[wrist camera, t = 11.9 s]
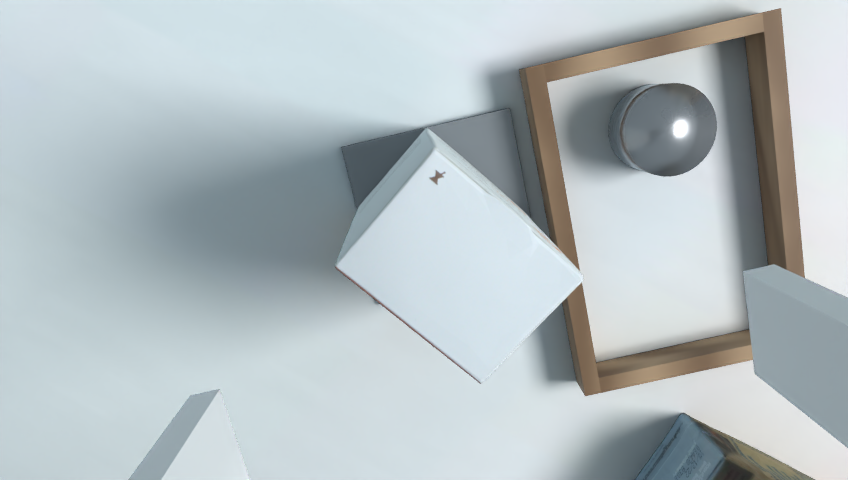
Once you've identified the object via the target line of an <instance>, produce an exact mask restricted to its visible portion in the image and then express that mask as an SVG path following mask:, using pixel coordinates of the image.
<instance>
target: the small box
mask: <svg viewBox="0 0 848 480" xmlns="http://www.w3.org/2000/svg"><path fill="white" fill-rule="evenodd" d="M335 268H336V269H337V270H338V271H340V272H341V273H342V274H343V275H345V276H346V277H347V278H348V279H349V280H351V281H352V282H353V283H354V284H356V285H357V286H358V287H360V288H361V289H362V290H363V291H365V292H366V293H367V294H368V295H370V296H371V297H372V298H373V299H375V300H376V301H377V302H378V303H380V304H381V305H382V306H383V307H385V308H386V309H387V310H388V311H390V312H391V313H392V314H393V315H395V316H396V317H397V318H398V319H400V320H401V321H402V322H403V323H405V324H406V325H407V326H408V327H410V328H411V329H412V330H413V331H415V332H416V333H417V334H419V335H420V336H421V337H422V338H423V339H425V340H426V341H427V342H428V343H430V344H431V345H432V346H433V347H435V348H436V349H437V350H439V351H440V352H441V353H442V354H444V355H445V356H446V357H447V358H449V359H450V360H451V361H453V362H454V363H455V364H456V365H458V366H459V367H460V368H461V369H463V370H464V371H465V372H466V373H468V374H469V375H470V376H471V377H473V378H474V379H475V380H477V381H478V382H479V383H480V384H481V383H483V382H484V381H485V380H486V379H487V378H488V377H489V376H490V375H491V374H492V373H493V372H494V371H495V370H496V369H497V368H498V367H499V366H500V365H501V364H502V363H503V362H504V361H505V360H506V359H507V358H508V357H509V355H510V354H511V353H512V352H513V351H514V350H515V349H516V348H517V347H518V346H519V345H520V344H521V343H522V342H523V341H524V340H525V339H526V338H527V337H528V336H529V335H530V334H531V333H532V332H533V331H534V330H535V329H536V328H537V327H538V326H539V325H540V324H541V323H542V322H543V321H544V320H545V319H546V318H547V317H548V316H549V315H550V314H551V313H552V312H553V311H554V310H555V309H556V308H557V307H558V306H559V305H560V304H561V303H562V302H563V301H564V300H565V299H566V298H567V297H568V296H569V295H570V294H571V293H572V292H573V291H574V290H575V289H576V288H577V287H578V286H579V285H580V284H581V283H582V282H583V280H584V277H583V275H582V273H581V272H580V271H579V270H578V269H577V268H576V267H575V265H574V264H573V263H572V262H571V261H570V260H569V259H568V258H567V257H566V256H565V255H564V254H563V253H562V252H561V251H560V250H559V248H558V247H557V246H556V245H555V244H554V243H553V242H552V241H551V240H550V239H549V238H548V237H547V235H546V234H545V233H544V232H542V231H541V230H540V228H539V227H538V226H537V225H536V224H535V223H534V222H533V221H532V220H531V219H530V218H529V216H528V215H527V214H526V213H525V212H524V211H523V210H522V209H521V208H520V207H519V206H517V205H516V204H515V203H514V202H513V201H512V200H511V199H510V198H509V197H507V196H506V195H505V194H504V193H503V192H502V191H501V190H500V189H498V188H497V187H496V186H495V185H494V184H493V183H492V182H490V181H489V180H488V179H487V178H486V177H485V176H484V175H482V174H481V173H480V172H479V171H478V170H477V169H476V168H474V167H473V166H472V165H471V164H470V163H469V162H468V161H466V160H465V159H464V158H463V157H462V156H461V155H459V154H458V153H457V152H456V151H455V150H454V149H452V148H451V147H450V146H449V145H448V144H447V143H445V142H444V141H443V140H442V139H441V138H439V137H438V136H437V135H436V134H435V133H433V132H432V131H431V130H430V129H428V128H426V129H425V130H424V131H423V132H422V133H421V134H420V135H419V137H418V138H417V139H416V140H415V141H414V143H413V144H412V145H411V146H410V147H409V148H408V150H407V151H406V152H405V153H404V154H403V155H402V157H401V158H400V159H399V160H398V161H397V162H396V164H395V165H394V166H393V167H392V168H391V169H390V171H389V172H388V173H387V174H386V175H385V176H384V178H383V179H382V180H381V181H380V182H379V183H378V185H377V186H376V187H375V188H374V189H373V190H372V192H371V193H370V194H369V195H368V196H367V197H366V198H365V200H364V201H363V202H362V203H361V204H360V206H359V207H358V210H357V212H356V214H355V216H354V219H353V221H352V224H351V226H350V229H349V232H348V234H347V236H346V238H345V241H344V244H343V246H342V249H341V251H340V254H339V256H338V259H337V262H336V265H335Z"/></svg>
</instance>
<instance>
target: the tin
mask: <svg viewBox="0 0 848 480" xmlns="http://www.w3.org/2000/svg"><path fill="white" fill-rule="evenodd" d="M716 130H717V121H716V115H715V112H714V109H713V107H712V104H711V103H710V101H709V100H708V99H707V97H706V96H705V95H704V94H703V93H701V92H700V91H699V90H697V89H696V88H694V87H691V86H689V85H685V84H679V83H671V84H652V85H645V86H641V87H639V88H636V89H634V90H632V91H631V92H629V93H628V94H627V95H625V96H624V97H623V98H622V99H621V100H620V101H619V103H618V104H617V105H616V107H615V109H614V111H613V113H612V115H611V118H610V122H609V139H610V143H611V146H612V149H613V151H614V152H615V154H616V155H617V157H618V158H619V159H620V160H621V161H622V162H624V163H625V164H627V165H628V166H630V167H632V168H635V169H638V170H641V171H645V172H648V173H651V174H654V175H658V176H676V175H680V174H683V173H685V172H688V171H689V170H691V169H693V168H694V167H696V166H697V165H698V164H699V163H700V162H702V161H703V159H704V158H705V157H706V156H707V154H708V153H709V151H710V149H711V147H712V145H713V143H714V140H715V136H716Z"/></svg>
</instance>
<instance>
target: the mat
mask: <svg viewBox="0 0 848 480" xmlns="http://www.w3.org/2000/svg"><path fill="white" fill-rule="evenodd" d="M426 128H428V129H430V130H431V131H432V132H433V133H435V134H436V135H437V136H438V137H439V138H441V139H442V140H443V141H444V142H445V143H447V144H448V145H449V146H450V147H451V148H452V149H454V150H455V151H456V152H457V153H458V154H459V155H461V156H462V157H463V158H464V159H465V160H466V161H468V162H469V163H470V164H471V165H472V166H473V167H474V168H476V169H477V170H478V171H479V172H480V173H481V174H482V175H484V176H485V177H486V178H487V179H488V180H489V181H490V182H492V183H493V184H494V185H495V186H496V187H497V188H498V189H500V190H501V191H502V192H503V193H504V194H505V195H506V196H507V197H509V198H510V199H511V200H512V201H513V202H514V203H515V204H516V205H517V206H519V207H520V208H521V209H522V210H523V211H524V212H525V213H526V214H527V215H528V216H529V218H530V219H531V217H530V212H529V207H528V202H527V196H526V191H525V186H524V181H523V175H522V170H521V165H520V160H519V155H518V149H517V144H516V139H515V134H514V128H513V123H512V118H511V113H510V108H508V109H503V110H499V111H495V112H490V113H486V114H482V115H477V116H473V117H469V118H465V119H460V120H456V121H452V122H447V123H443V124H439V125H434V126H430V127H426ZM426 128H421V129H417V130H413V131H409V132H404V133H400V134H396V135H391V136H387V137H383V138H378V139H374V140H370V141H366V142H361V143H357V144H353V145H348V146H344V147H341V148H342V152H343V156H344V160H345V164H346V168H347V172H348V176H349V180H350V183H351V187H352V191H353V195H354V199H355V203H356V207H357V210H358V207H359V206H360V204H361V203H362V202H363V201H364V200H365V198H366V197H367V196H368V195H369V194H370V193H371V192H372V190H373V189H374V188H375V187H376V186H377V185H378V183H379V182H380V181H381V180H382V179H383V178H384V176H385V175H386V174H387V173H388V172H389V171H390V169H391V168H392V167H393V166H394V165H395V164H396V162H397V161H398V160H399V159H400V158H401V157H402V155H403V154H404V153H405V152H406V151H407V150H408V148H409V147H410V146H411V145H412V144H413V143H414V141H415V140H416V139H417V138H418V137H419V135H420V134H421V133H422V132H423V131H424V130H425V129H426Z"/></svg>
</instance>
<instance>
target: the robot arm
mask: <svg viewBox="0 0 848 480" xmlns="http://www.w3.org/2000/svg"><path fill="white" fill-rule="evenodd" d="M743 277H744V285H745V294H746V303H747V311H748V320H749V329H750V337H751V346H752V355H753V363H754V372H755V374H756V375H757V376H758V377H759V378H761V379H762V380H763V381H765V382H766V383H767V384H768V385H770V386H771V387H772V388H773V389H775V390H776V391H777V392H778V393H780V394H781V395H782V396H783V397H785V398H786V399H787V400H788V401H790V402H791V403H792V404H793V405H795V406H796V407H797V408H798V409H800V410H801V411H802V412H803V413H805V414H806V415H807V416H808V417H810V418H811V419H812V420H813V421H815V422H816V423H817V424H818V425H820V426H821V427H822V428H823V429H825V430H826V431H827V432H828V433H830V434H831V435H832V436H833V437H835V438H836V439H837V440H838V441H840V442H841V443H842V444H843V445H845V446H846V447H847V448H848V298H847V297H845V296H843V295H841V294H838V293H836V292H834V291H832V290H830V289H827V288H825V287H823V286H821V285H819V284H816V283H814V282H812V281H810V280H808V279H806V278H803V277H801V276H799V275H797V274H795V273H792V272H790V271H788V270H786V269H784V268H781V267H779V266H777V265H775V264H773V265H769V266H764V267H760V268H755V269H751V270H746V271H743ZM129 480H250V477H249V474H248V471H247V468H246V465H245V462H244V459H243V456H242V453H241V450H240V447H239V444H238V441H237V438H236V436H235V433H234V430H233V427H232V424H231V421H230V418H229V415H228V412H227V409H226V406H225V403H224V400H223V397H222V394H221V391H220V389H218V390H213V391H209V392H204V393H200V394H195V395H191V396H190V397H189V398H188V399H187V401H186V402H185V403H184V405H183V406H182V408H181V409H180V410H179V412H178V413H177V414H176V416H175V417H174V418H173V420H172V421H171V422H170V424H169V425H168V427H167V428H166V429H165V431H164V432H163V433H162V435H161V436H160V437H159V439H158V440H157V442H156V443H155V444H154V446H153V447H152V448H151V450H150V451H149V452H148V454H147V455H146V457H145V458H144V459H143V461H142V462H141V463H140V465H139V466H138V467H137V469H136V470H135V472H134V473H133V474H132V476H131V477H130V478H129Z"/></svg>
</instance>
